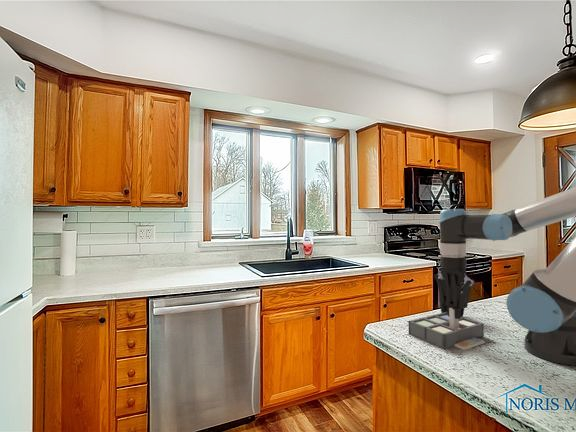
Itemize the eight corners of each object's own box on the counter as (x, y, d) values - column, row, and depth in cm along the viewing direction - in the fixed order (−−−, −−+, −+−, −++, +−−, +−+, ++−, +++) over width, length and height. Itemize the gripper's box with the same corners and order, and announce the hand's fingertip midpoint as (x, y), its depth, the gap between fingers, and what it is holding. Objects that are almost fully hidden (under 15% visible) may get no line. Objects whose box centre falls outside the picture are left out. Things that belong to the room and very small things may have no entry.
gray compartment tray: (493, 340, 97) (493, 326, 97) (454, 353, 89) (453, 338, 89) (446, 323, 112) (446, 312, 112) (408, 333, 103) (408, 321, 103)
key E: (436, 330, 101) (435, 324, 101) (426, 333, 99) (426, 327, 99) (424, 326, 105) (424, 320, 105) (415, 328, 103) (415, 322, 103)
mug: (458, 323, 112) (458, 296, 112) (435, 317, 119) (434, 291, 119) (473, 317, 119) (472, 291, 119) (449, 311, 126) (449, 287, 126)
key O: (476, 330, 101) (476, 324, 101) (467, 332, 99) (467, 326, 99) (463, 325, 105) (463, 320, 105) (454, 328, 103) (454, 322, 103)
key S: (452, 337, 95) (452, 330, 95) (443, 339, 93) (443, 333, 93) (440, 332, 99) (440, 326, 99) (430, 334, 97) (430, 328, 97)
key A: (458, 324, 106) (458, 318, 106) (450, 326, 104) (450, 320, 104) (447, 320, 110) (447, 314, 110) (438, 322, 108) (438, 317, 108)
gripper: (480, 257, 95) (481, 332, 95) (442, 253, 106) (443, 319, 106) (465, 259, 91) (466, 336, 91) (428, 254, 103) (429, 323, 103)
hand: (454, 327), depth 99 cm, fingers closed
